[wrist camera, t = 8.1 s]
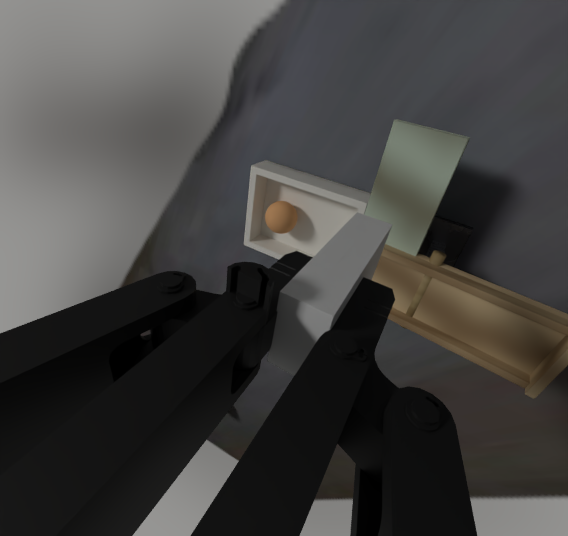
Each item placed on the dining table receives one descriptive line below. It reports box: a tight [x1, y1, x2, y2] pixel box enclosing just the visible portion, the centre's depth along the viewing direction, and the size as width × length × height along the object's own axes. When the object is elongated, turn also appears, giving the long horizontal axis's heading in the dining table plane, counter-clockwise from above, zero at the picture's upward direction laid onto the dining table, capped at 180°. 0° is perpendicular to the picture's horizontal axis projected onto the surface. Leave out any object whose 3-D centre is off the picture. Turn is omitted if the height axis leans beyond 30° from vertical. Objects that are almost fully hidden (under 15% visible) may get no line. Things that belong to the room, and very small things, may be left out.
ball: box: [265, 201, 298, 234], centre depth 35 cm, size 4×4×4 cm
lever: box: [364, 120, 568, 399], centre depth 24 cm, size 16×16×2 cm
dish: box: [244, 160, 371, 259], centre depth 35 cm, size 9×12×3 cm
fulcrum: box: [418, 216, 473, 267], centre depth 30 cm, size 9×4×5 cm, turn 170°
